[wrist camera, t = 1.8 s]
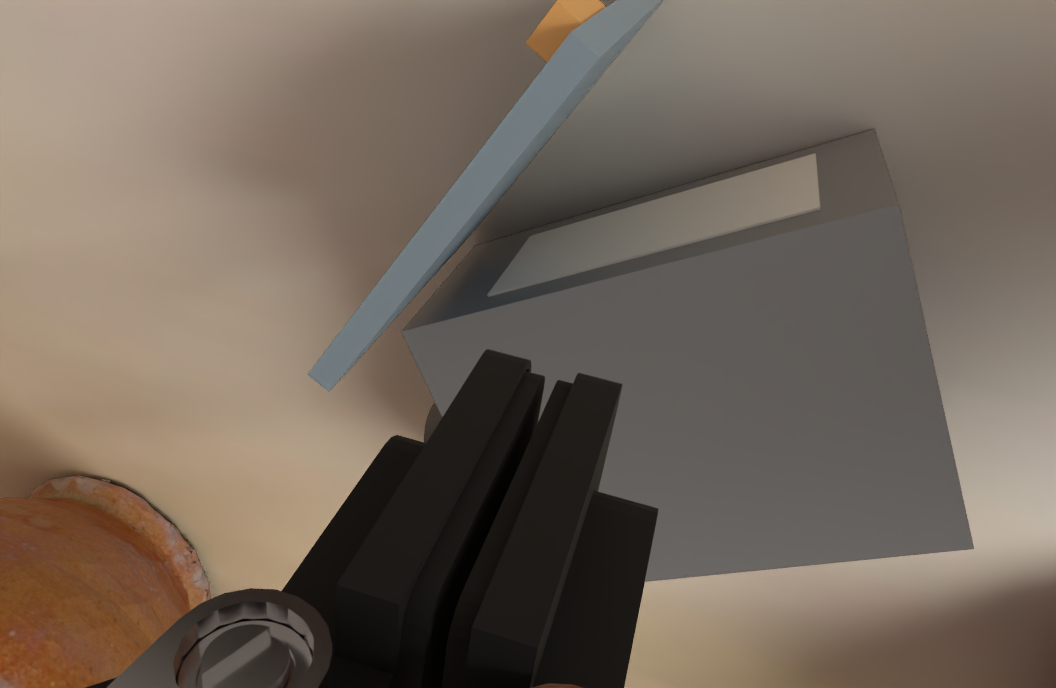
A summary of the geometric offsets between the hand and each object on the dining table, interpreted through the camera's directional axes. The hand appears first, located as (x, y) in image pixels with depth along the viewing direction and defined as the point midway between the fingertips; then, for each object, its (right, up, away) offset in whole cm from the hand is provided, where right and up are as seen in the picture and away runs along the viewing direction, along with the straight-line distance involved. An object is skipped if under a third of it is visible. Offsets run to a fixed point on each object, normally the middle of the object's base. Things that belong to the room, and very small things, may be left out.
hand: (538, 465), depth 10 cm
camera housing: (+6, +2, +25) cm, 25 cm away
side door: (0, +10, +21) cm, 24 cm away
